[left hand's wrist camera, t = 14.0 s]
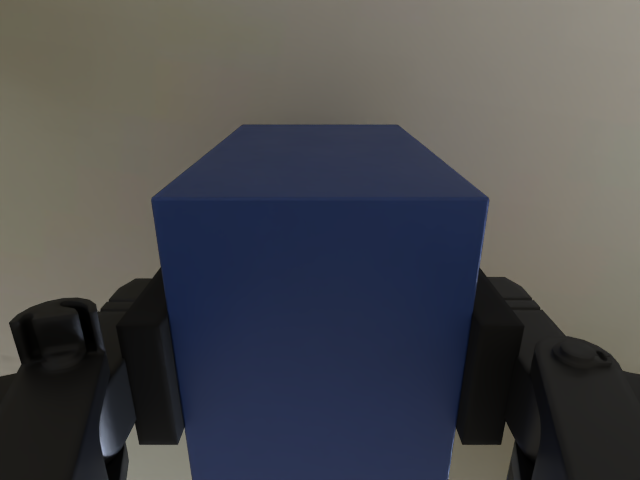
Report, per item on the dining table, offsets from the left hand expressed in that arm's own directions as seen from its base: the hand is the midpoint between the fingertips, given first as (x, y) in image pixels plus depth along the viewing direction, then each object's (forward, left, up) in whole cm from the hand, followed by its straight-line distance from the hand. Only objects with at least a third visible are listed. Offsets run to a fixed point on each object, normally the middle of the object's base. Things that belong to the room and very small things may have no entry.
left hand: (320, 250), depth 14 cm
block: (0, 0, -3) cm, 3 cm away
